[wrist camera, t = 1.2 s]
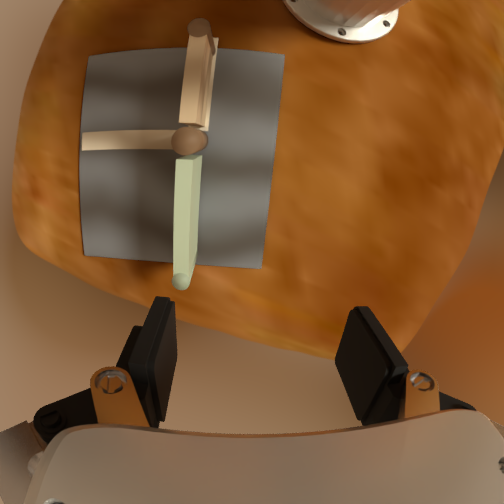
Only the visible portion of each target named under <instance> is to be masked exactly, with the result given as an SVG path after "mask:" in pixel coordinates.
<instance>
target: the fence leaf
mask: <svg viewBox="0 0 504 504" xmlns="http://www.w3.org/2000/svg"><path fill="white" fill-rule="evenodd" d="M201 167H202V155H186V156H184V157H181V158H178V159H176V170H175V192H174V230H173V271H174V276H173V279H172V284H173V286H174V287H175V288H176V289H178V290H185V289H187V288H188V286H189V284H190V280H191V277H192V273H193V270H194V266H195V263H196V259H197V256H198V250H197V242H198V218H199V198H200V182H201Z"/></svg>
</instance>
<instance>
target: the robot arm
mask: <svg viewBox="0 0 504 504" xmlns="http://www.w3.org/2000/svg"><path fill="white" fill-rule="evenodd" d="M291 1H294V2H291ZM409 1H411V0H283V2H284V4H285V5H286V7H287V8H288V10H289V11H290V12H291V13H292V14H293V15H294V16H295V17H296V18H297V20H299V21H300V22H301V23H303V24H304V25H305V26H306V27H308V28H310V29H311V30H313V31H315V32H316V33H318V34H320V35H323V36H325V37H327V38H329V39H333V40H336V41H340V42H345V43H352V44H355V43H367V42H372V41H375V40H377V39H379V38H381V37H383V36H384V35H386V34H388V33H389V32H390V31H391V30H392V29H393V27H394V25H395V23H396V21H397V17H398V8H400V7H401V6H403V5H404V4H406V3H407V2H409ZM338 33H340V34H341V35H339V34H338ZM176 362H177V339H176V319H175V302H174V301H170V298H169V297H159V296H156V297H155V299H154V301H153V304H152V306H151V308H150V311H149V313H148V315H147V318H146V320H145V322H144V325H143V326H134V327H133V329H132V331H131V333H130V335H129V337H128V339H127V342H126V344H125V346H124V348H123V351H122V353H121V355H120V358H119V360H118V362H117V365H116V367H114V366H113V367H105V368H101V369H99V370H98V371H96V372H95V373H94V374H93V375H92V377H91V379H90V387H91V388H89V389H86V390H84V391H81V392H79V393H76V394H74V395H71V396H69V397H67V398H64V399H61V400H59V401H56V402H54V403H51V404H48V405H46V406H44V407H42V408H40V409H39V410H38V411H37V412H36V414H35V416H34V420H33V421H32V422H30V423H28V422H27V421H24V422H22V423H20V424H18V425H15V426H13V427H11V428H9V429H6V430H4V431H2V432H0V496H1V498H2V500H3V502H4V504H504V427H503V426H502V425H499V424H497V423H495V422H493V421H491V420H489V419H488V418H487V417H486V416H485V415H484V414H482V413H480V412H477V411H476V409H475V408H474V407H473V406H471V405H469V404H468V403H465V402H463V401H460V400H458V399H455V398H453V397H451V396H448V395H446V394H443V393H441V392H439V390H438V383H437V380H436V379H435V377H434V376H433V375H431V374H430V373H428V372H426V371H423V370H412V371H409V370H408V368H407V367H408V364H407V362H406V361H405V360H404V358H403V357H402V355H401V353H400V352H399V350H398V349H397V347H396V346H395V344H394V343H393V341H392V340H391V339H390V337H389V336H388V334H387V333H386V331H385V330H384V328H383V327H382V325H381V324H380V323H379V321H378V320H377V318H376V317H375V315H374V314H373V313H372V311H371V310H370V308H369V307H367V306H356V307H354V309H353V310H351V311H350V312H349V316H348V319H347V322H346V326H345V329H344V332H343V335H342V338H341V341H340V344H339V348H338V351H337V354H336V357H335V364H336V367H337V369H338V372H339V374H340V377H341V379H342V382H343V384H344V387H345V389H346V392H347V394H348V397H349V399H350V402H351V405H352V407H353V410H354V412H355V415H356V418H357V419H358V420H361V423H362V425H363V426H360V427H359V426H358V427H351V428H344V429H335V430H326V431H315V432H302V433H284V434H221V433H203V432H191V431H179V430H168V429H160V428H158V427H159V423H160V421H163V422H164V421H165V416H166V411H167V406H168V400H169V396H170V391H171V385H172V380H173V376H174V371H175V366H176Z"/></svg>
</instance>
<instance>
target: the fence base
mask: <svg viewBox="0 0 504 504" xmlns="http://www.w3.org/2000/svg"><path fill="white" fill-rule="evenodd" d="M187 30H188V33H189V41H188V48H159V49H143V50H131V51H122V52H114V53H106V54H99V55H93V56H89V58H88V65H87V71H86V78H85V86H84V94H83V104H82V116H81V131H80V163H79V175H80V208H81V223H82V235H83V246H84V255H86V256H98V257H109V258H121V259H133V260H145V261H158V262H171V263H173V230H174V192H175V170H176V159H178V158H181V157H184V156H186V155H202V167H201V182H200V198H199V218H198V242H197V250H198V256H197V259H196V263H195V264H198V265H212V266H226V267H241V268H256V269H261V267H262V259H263V250H264V242H265V233H266V225H267V216H268V208H269V199H270V190H271V181H272V172H273V163H274V154H275V145H276V136H277V127H278V117H279V108H280V98H281V88H282V79H283V69H284V59H285V55H283V54H276V53H268V52H259V51H250V50H238V49H222V48H217V47H218V40H219V38H213V36H212V31H211V26H210V23H209V21H208V20H206V19H204V18H196V19H194V20H192V21H191V22H190V23H189V24H188V27H187Z"/></svg>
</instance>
